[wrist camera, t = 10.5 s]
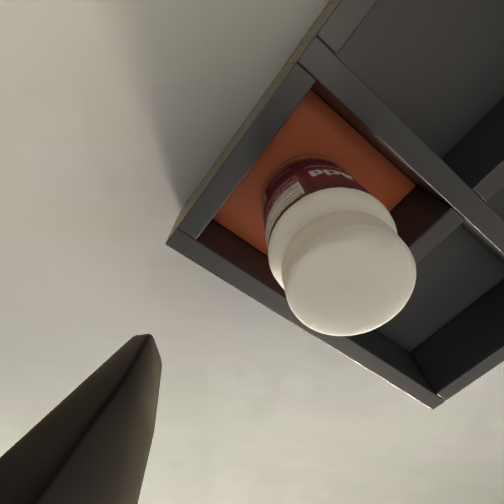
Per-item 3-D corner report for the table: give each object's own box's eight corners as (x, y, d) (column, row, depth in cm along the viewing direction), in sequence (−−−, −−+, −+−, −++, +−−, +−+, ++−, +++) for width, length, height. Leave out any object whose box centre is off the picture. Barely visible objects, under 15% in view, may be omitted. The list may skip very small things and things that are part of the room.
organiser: (404, 360, 24) (432, 410, 21) (180, 211, 19) (164, 244, 15) (681, 144, 18) (796, 162, 14) (463, -189, 12) (560, -306, 8)
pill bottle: (369, 182, 17) (465, 261, 10) (315, 253, 19) (363, 365, 12) (293, 134, 16) (337, 182, 9) (243, 214, 18) (245, 311, 10)
